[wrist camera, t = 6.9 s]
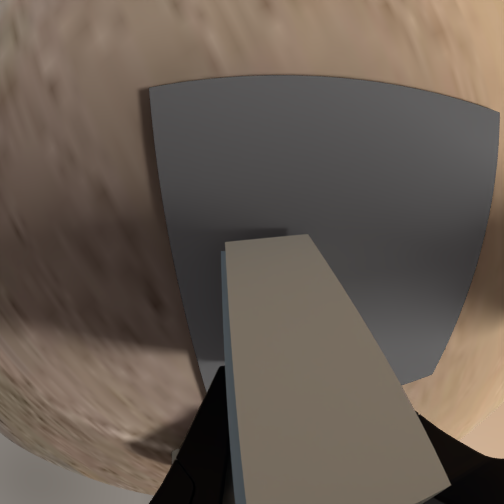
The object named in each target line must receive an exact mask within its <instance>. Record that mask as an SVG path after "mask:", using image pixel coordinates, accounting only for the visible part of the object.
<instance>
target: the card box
mask: <svg viewBox="0 0 504 504" xmlns="http://www.w3.org/2000/svg"><path fill="white" fill-rule="evenodd" d="M221 277H222V309H223V334H224V356H225V375H226V393H227V409H228V424H229V438H230V451H231V463H232V475H233V486H234V496H235V504H423V503H424V502H426V501H427V500H429V499H431V498H432V497H434V496H435V495H437V494H438V493H440V492H441V491H443V490H444V489H446V488H447V487H449V486H450V485H451V484H450V481H449V479H448V477H447V475H446V473H445V470H444V468H443V466H442V464H441V462H440V460H439V458H438V456H437V454H436V451H435V449H434V447H433V445H432V443H431V441H430V439H429V437H428V435H427V433H426V431H425V429H424V427H423V425H422V423H421V422H420V420H419V418H418V416H417V414H416V412H415V410H414V408H413V406H412V404H411V402H410V401H409V399H408V397H407V395H406V393H405V391H404V390H403V388H402V386H401V384H400V382H399V380H398V379H397V377H396V375H395V373H394V372H393V370H392V368H391V366H390V365H389V363H388V361H387V359H386V358H385V356H384V354H383V352H382V351H381V349H380V347H379V345H378V344H377V342H376V340H375V339H374V337H373V335H372V334H371V332H370V330H369V329H368V327H367V325H366V324H365V322H364V320H363V319H362V317H361V315H360V314H359V312H358V311H357V309H356V307H355V306H354V304H353V303H352V301H351V299H350V298H349V296H348V295H347V293H346V291H345V290H344V288H343V287H342V285H341V284H340V282H339V280H338V279H337V277H336V276H335V274H334V273H333V271H332V270H331V268H330V266H329V265H328V263H327V262H326V260H325V259H324V257H323V256H322V254H321V253H320V251H319V250H318V248H317V247H316V245H315V244H314V242H313V241H312V239H311V238H310V236H309V235H308V234H302V235H292V236H281V237H271V238H260V239H250V240H240V241H230V242H225V251H221Z"/></svg>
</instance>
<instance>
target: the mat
mask: <svg viewBox="0 0 504 504" xmlns="http://www.w3.org/2000/svg"><path fill="white" fill-rule="evenodd" d="M149 93H150V105H151V115H152V125H153V134H154V143H155V151H156V159H157V166H158V174H159V181H160V187H161V194H162V200H163V206H164V212H165V218H166V224H167V229H168V235H169V240H170V245H171V251H172V256H173V261H174V265H175V270H176V275H177V280H178V284H179V289H180V293H181V298H182V302H183V306H184V310H185V315H186V319H187V323H188V327H189V331H190V335H191V339H192V342H193V346H194V350H195V354H196V357H197V361H198V365H199V368H200V372H201V375H202V379H203V382H204V385H205V389H206V392H207V391H208V389H209V387H210V385H211V382H212V380H213V378H214V376H215V374H216V372H217V370H218V368H219V367H220V366H225V356H224V334H223V309H222V277H221V251H225V242H230V241H240V240H250V239H260V238H271V237H281V236H292V235H302V234H308V235H309V236H310V238H311V239H312V241H313V242H314V244H315V245H316V247H317V248H318V250H319V251H320V253H321V254H322V256H323V257H324V259H325V260H326V262H327V263H328V265H329V266H330V268H331V270H332V271H333V273H334V274H335V276H336V277H337V279H338V280H339V282H340V284H341V285H342V287H343V288H344V290H345V291H346V293H347V295H348V296H349V298H350V299H351V301H352V303H353V304H354V306H355V307H356V309H357V311H358V312H359V314H360V315H361V317H362V319H363V320H364V322H365V324H366V325H367V327H368V329H369V330H370V332H371V334H372V335H373V337H374V339H375V340H376V342H377V344H378V345H379V347H380V349H381V351H382V352H383V354H384V356H385V358H386V359H387V361H388V363H389V365H390V366H391V368H392V370H393V372H394V373H395V375H396V377H397V379H398V380H399V382H400V384H401V385H404V384H407V383H410V382H413V381H416V380H419V379H421V378H424V377H427V376H429V375H432V374H433V372H434V370H435V368H436V366H437V364H438V362H439V360H440V358H441V356H442V354H443V352H444V350H445V347H446V345H447V343H448V341H449V339H450V336H451V334H452V332H453V329H454V327H455V325H456V322H457V320H458V317H459V315H460V312H461V310H462V307H463V304H464V302H465V299H466V296H467V293H468V291H469V288H470V285H471V282H472V279H473V275H474V272H475V269H476V266H477V262H478V259H479V255H480V252H481V248H482V244H483V240H484V236H485V232H486V227H487V223H488V218H489V213H490V208H491V202H492V196H493V190H494V183H495V176H496V167H497V157H498V145H499V123H500V113H499V112H497V111H494V110H491V109H488V108H485V107H482V106H479V105H476V104H473V103H470V102H466V101H463V100H460V99H456V98H452V97H449V96H445V95H441V94H437V93H433V92H428V91H424V90H419V89H414V88H409V87H404V86H399V85H393V84H387V83H380V82H373V81H365V80H357V79H347V78H336V77H321V76H295V75H266V76H241V77H226V78H214V79H204V80H196V81H188V82H180V83H174V84H167V85H161V86H156V87H150V88H149Z"/></svg>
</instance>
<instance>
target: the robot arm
mask: <svg viewBox="0 0 504 504" xmlns="http://www.w3.org/2000/svg"><path fill="white" fill-rule="evenodd" d="M415 412H416V411H415ZM416 414H417V416H418V418H419V420H420V422H421V423H422V425H423V427H424V429H425V431H426V433H427V435H428V437H429V439H430V441H431V443H432V445H433V447H434V449H435V451H436V454H437V456H438V458H439V460H440V462H441V464H442V466H443V468H444V470H445V473H446V475H447V477H448V479H449V481H450V484H451V485H450V486H449V487H447V488H446V489H444V490H443V491H441V492H440V493H438V494H437V495H435V496H434V497H432V498H431V499H429V500H427V501H426V502H424V503H423V504H504V459H498V458H492V457H488V456H485V455H483V454H481V453H479V452H477V451H475V450H473V449H472V448H470V447H468V446H466V445H465V444H463V443H461V442H460V441H458V440H456V439H454V438H453V437H451V436H450V435H448V434H446V433H445V432H443V431H442V430H440V429H439V428H437V427H436V426H435V425H433V424H432V423H431V422H429V421H428V420H427V419H425V418H424V417H423V416H422V415H418V412H416ZM176 459H177V460H176ZM176 459H175V460H174V462H173V464H172V466H171V468H170V470H169V472H168V474H167V475H166V477H165V479H164V481H163V483H162V484H161V486H160V488H159V489H158V491H157V492H156V494H155V495H154V497H153V498H152V500H151V501H150V503H149V504H235V496H234V486H233V475H232V463H231V451H230V438H229V424H228V409H227V393H226V375H225V366H220V367H219V368H218V370H217V372H216V374H215V376H214V378H213V380H212V382H211V385H210V387H209V389H208V391H207V393H206V395H205V397H204V399H203V402H202V404H201V406H200V408H199V410H198V412H197V414H196V416H195V418H194V421H193V423H192V425H191V427H190V429H189V431H188V433H187V435H186V437H185V439H184V441H183V443H182V445H181V448H180V450H179V452H178V454H177V456H176Z"/></svg>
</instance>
